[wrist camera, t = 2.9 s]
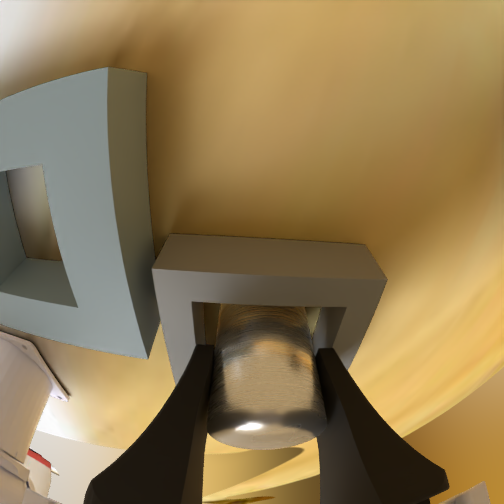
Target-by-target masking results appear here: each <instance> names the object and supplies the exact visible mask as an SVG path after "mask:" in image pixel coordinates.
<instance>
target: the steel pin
mask: <svg viewBox="0 0 504 504" xmlns="http://www.w3.org/2000/svg"><path fill="white" fill-rule="evenodd" d="M326 426H327V418H326V413H325V407H324V402H323V396H322V391H321V385H320V380H319V375H318V370H317V365H316V359H315V354H314V350H313V345H312V340H311V335H310V330H309V326H308V321H307V316H306V312H305V307H302V306H268V305H245V304H226V303H221V305H220V311H219V319H218V327H217V335H216V344H215V353H214V363H213V372H212V380H211V389H210V398H209V408H208V418H207V431H208V433H209V435H210V436H211V437H213V438H214V439H215V440H217V441H219V442H221V443H224V444H226V445H230V446H233V447H238V448H244V449H254V450H268V449H279V448H286V447H291V446H295V445H298V444H302V443H304V442H307V441H309V440H311V439H313V438H315V437H317V436H318V435H320V434H321V433H322V432H323V431H324V430H325V428H326Z"/></svg>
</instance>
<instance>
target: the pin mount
mask: <svg viewBox="0 0 504 504" xmlns="http://www.w3.org/2000/svg"><path fill="white" fill-rule="evenodd" d="M152 273H153V280H154V286H155V292H156V298H157V303H158V309H159V314H160V319H161V324H162V329H163V334H164V338H165V343H166V347H167V352H168V356H169V360H170V365H171V369H172V373H173V377H174V380H175V384H176V385H177V383H178V382H179V380H180V378H181V376H182V374H183V373H184V371H185V369H186V367H187V365H188V362H189V360H190V358H191V356H192V353H193V351H194V348H195V346H196V345H198V344H201V345H206V339H205V324H204V308H203V302H210V303H226V304H245V305H268V306H302V307H321V311H320V314H319V318H318V321H317V325H316V328H315V331H314V335H313V338H312V345H313V350H314V354H315V356H316V353H317V351H318V348H334V349H335V351H336V353H337V354H338V356H339V358H340V359H341V361H342V363H343V364H344V366H345V368H346V369H347V371H348V369H349V367H350V365H351V363H352V361H353V359H354V357H355V355H356V353H357V351H358V349H359V346H360V344H361V342H362V340H363V338H364V336H365V333H366V331H367V329H368V327H369V324H370V322H371V320H372V317H373V315H374V313H375V310H376V308H377V306H378V303H379V301H380V298H381V296H382V293H383V290H384V288H385V285H386V282H387V280H388V279H387V278H386V276H385V275H384V273H383V271H382V270H381V268H380V267H379V265H378V264H377V262H376V260H375V259H374V257H373V256H372V254H371V253H370V251H369V250H368V248H367V247H366V245H363V244H348V243H333V242H318V241H301V240H285V239H268V238H250V237H231V236H211V235H190V234H169V236H168V238H167V240H166V242H165V244H164V246H163V248H162V250H161V252H160V253H159V255H158V257H157V259H156V261H155V263H154V265H153V267H152ZM214 353H215V349H214Z"/></svg>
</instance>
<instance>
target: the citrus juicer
mask: <svg viewBox="0 0 504 504" xmlns="http://www.w3.org/2000/svg"><path fill="white" fill-rule="evenodd" d="M12 459H13V458H12ZM15 461H16V460H15ZM17 462H18V461H17ZM18 463H20V462H18ZM20 464H21V465H23V466H24V467H26V468H27V469H29V470H30V473H29V476H30V478H31V480H32V482H33V485H34V488H35V491H36V492H37V493H39V494H41V495H43V496H45V497H47V495H48V492H49V487H50V483H51V464H50V462H49V461H47V460H46V459H44V458H43V457H42V456H41V455H40V454H38V453H36V452H35V453H34V452H33V451H31V450H28V453H27V456H26V459H25V462H24V464H22V463H20Z"/></svg>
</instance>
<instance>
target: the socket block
mask: <svg viewBox="0 0 504 504" xmlns="http://www.w3.org/2000/svg"><path fill="white" fill-rule="evenodd" d="M146 87H147V73H144V72H138V71H132V70H126V69H120V68H113V67H105V68H100V69H95V70H91V71H86V72H82V73H78V74H74V75H70V76H67V77H63V78H60V79H56V80H53V81H50V82H46V83H43V84H40V85H37V86H34V87H32V88H29V89H26V90H23V91H21V92H18V93H16V94H13V95H11V96H8V97H6V98H4V99H1V100H0V324H1V325H4V326H7V327H10V328H13V329H16V330H19V331H23V332H26V333H29V334H32V335H36V336H39V337H43V338H47V339H50V340H54V341H58V342H62V343H66V344H70V345H74V346H78V347H83V348H87V349H92V350H97V351H102V352H107V353H112V354H118V355H123V356H129V357H135V358H142V359H148V358H149V355H150V352H151V349H152V345H153V342H154V339H155V336H156V333H157V330H158V327H159V324H160V321H161V319H160V314H159V309H158V303H157V298H156V292H155V286H154V280H153V273H152V267H153V265H154V263H155V261H156V260H155V252H154V243H153V234H152V225H151V214H150V202H149V189H148V172H147V148H146ZM37 165H43V172H44V179H45V186H46V191H47V197H48V202H49V208H50V212H51V217H52V222H53V226H54V230H55V234H56V238H57V242H58V246H59V250H60V253H61V257H62V260H63V261H54V260H43V259H33V258H26V255H25V252H24V248H23V245H22V242H21V238H20V235H19V231H18V228H17V224H16V220H15V216H14V212H13V207H12V203H11V198H10V193H9V188H8V182H7V176H6V171H7V170H12V169H18V168H24V167H30V166H37Z"/></svg>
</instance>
